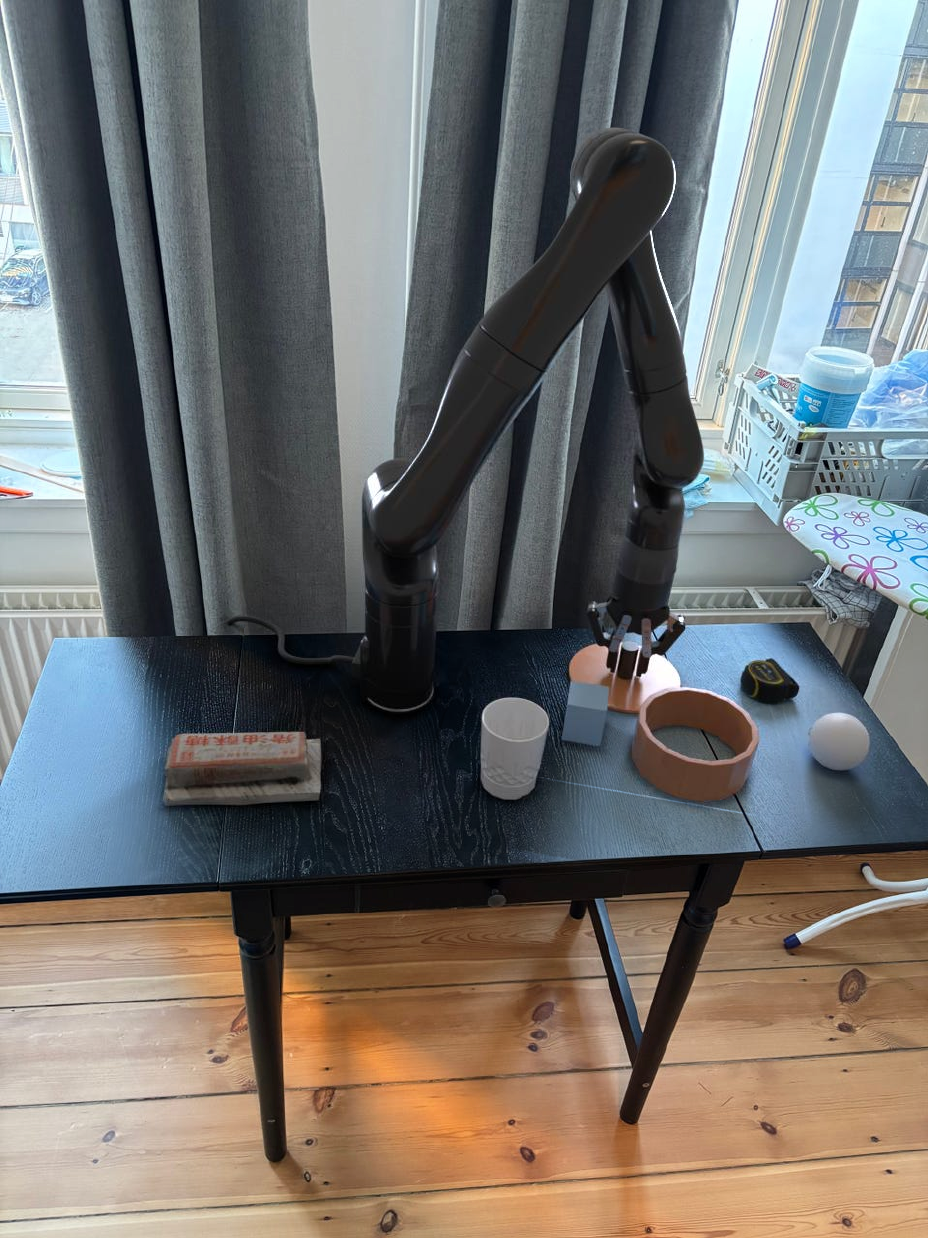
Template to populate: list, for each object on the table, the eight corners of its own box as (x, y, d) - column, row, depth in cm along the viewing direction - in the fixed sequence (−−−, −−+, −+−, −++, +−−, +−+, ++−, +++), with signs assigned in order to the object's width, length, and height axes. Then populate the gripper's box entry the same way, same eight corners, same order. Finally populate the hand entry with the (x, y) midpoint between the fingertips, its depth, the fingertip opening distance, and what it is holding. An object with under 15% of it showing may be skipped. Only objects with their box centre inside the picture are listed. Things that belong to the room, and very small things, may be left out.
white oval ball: (870, 782, 121) (888, 739, 117) (814, 783, 121) (830, 739, 116) (839, 730, 129) (855, 687, 125) (786, 730, 129) (800, 687, 125)
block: (561, 743, 124) (567, 704, 120) (564, 718, 128) (570, 680, 124) (599, 749, 123) (607, 710, 120) (602, 724, 127) (609, 686, 124)
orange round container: (628, 792, 117) (637, 753, 113) (633, 717, 129) (641, 679, 125) (749, 813, 115) (762, 774, 112) (743, 735, 127) (754, 697, 124)
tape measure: (797, 704, 133) (804, 683, 131) (754, 711, 132) (761, 690, 129) (770, 675, 139) (776, 654, 137) (729, 681, 137) (734, 660, 135)
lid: (562, 706, 130) (568, 670, 127) (573, 640, 143) (578, 606, 139) (679, 725, 128) (688, 689, 125) (679, 657, 141) (687, 623, 138)
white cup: (495, 812, 113) (502, 748, 107) (464, 769, 119) (470, 707, 113) (552, 792, 116) (561, 730, 111) (519, 752, 122) (527, 690, 116)
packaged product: (157, 778, 107) (169, 720, 116) (162, 809, 110) (174, 750, 118) (320, 772, 110) (320, 716, 118) (321, 803, 112) (321, 745, 121)
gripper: (700, 560, 127) (675, 663, 137) (594, 544, 129) (577, 648, 138) (701, 589, 121) (675, 696, 131) (590, 573, 123) (573, 679, 132)
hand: (625, 671), depth 135 cm, fingers open, 3 cm apart
